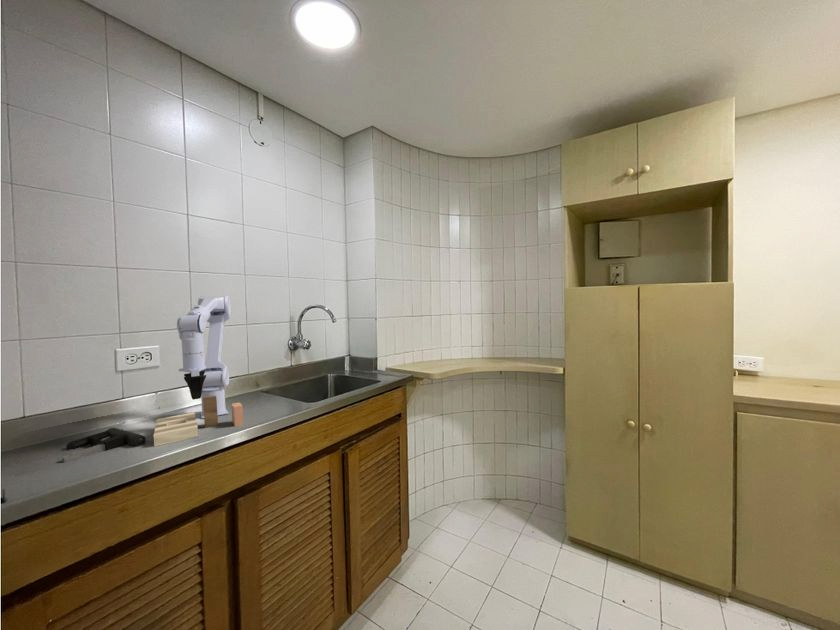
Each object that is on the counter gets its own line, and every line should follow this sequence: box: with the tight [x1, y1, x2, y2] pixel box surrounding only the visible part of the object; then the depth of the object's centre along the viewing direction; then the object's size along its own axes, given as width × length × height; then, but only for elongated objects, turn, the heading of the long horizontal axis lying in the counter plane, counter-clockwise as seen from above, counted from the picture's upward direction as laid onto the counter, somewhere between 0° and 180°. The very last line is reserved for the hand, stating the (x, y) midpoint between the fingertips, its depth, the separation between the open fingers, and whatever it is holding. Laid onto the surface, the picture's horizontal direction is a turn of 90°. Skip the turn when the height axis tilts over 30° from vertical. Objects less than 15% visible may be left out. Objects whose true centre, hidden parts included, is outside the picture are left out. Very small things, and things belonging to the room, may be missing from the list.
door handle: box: [61, 427, 149, 463], centre depth 94 cm, size 3×20×16 cm
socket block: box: [153, 412, 199, 447], centre depth 104 cm, size 20×10×3 cm, turn 36°
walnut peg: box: [203, 396, 219, 429], centre depth 109 cm, size 3×3×9 cm
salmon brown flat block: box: [231, 402, 244, 427], centre depth 110 cm, size 6×2×6 cm, turn 36°
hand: (196, 396), depth 107 cm, fingers open, 7 cm apart
